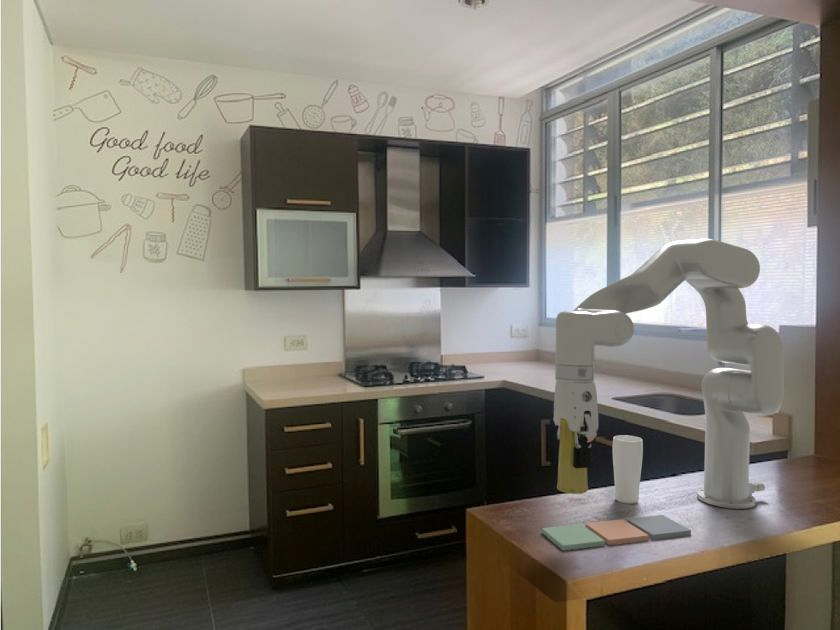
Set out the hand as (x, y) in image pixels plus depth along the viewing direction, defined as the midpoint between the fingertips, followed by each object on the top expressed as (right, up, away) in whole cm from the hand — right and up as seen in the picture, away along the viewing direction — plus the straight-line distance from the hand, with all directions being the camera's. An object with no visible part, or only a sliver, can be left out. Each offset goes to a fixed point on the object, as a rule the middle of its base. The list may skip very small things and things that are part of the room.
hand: (573, 462), depth 124 cm
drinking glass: (+19, -15, +24) cm, 33 cm away
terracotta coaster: (+10, -15, +3) cm, 19 cm away
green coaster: (0, -16, +1) cm, 16 cm away
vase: (0, -6, 0) cm, 6 cm away
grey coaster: (+19, -15, +6) cm, 25 cm away
